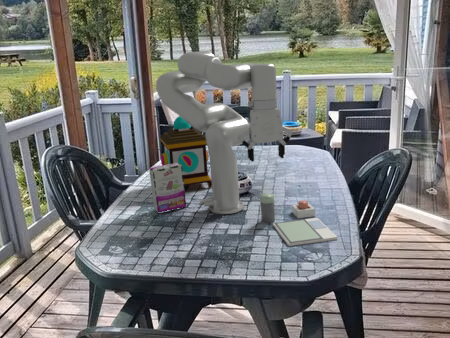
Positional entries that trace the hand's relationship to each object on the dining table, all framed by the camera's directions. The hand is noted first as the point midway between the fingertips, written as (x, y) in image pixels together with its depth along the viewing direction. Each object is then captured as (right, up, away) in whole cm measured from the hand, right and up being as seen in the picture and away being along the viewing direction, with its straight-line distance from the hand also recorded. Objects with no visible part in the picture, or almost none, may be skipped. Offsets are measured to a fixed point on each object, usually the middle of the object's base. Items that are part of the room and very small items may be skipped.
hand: (266, 158), depth 140 cm
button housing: (+13, -19, +10) cm, 25 cm away
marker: (+1, -20, +6) cm, 21 cm away
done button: (+13, -17, +10) cm, 24 cm away
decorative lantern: (-29, -10, +48) cm, 57 cm away
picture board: (+11, -23, -4) cm, 26 cm away
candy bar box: (-33, -18, +22) cm, 44 cm away
